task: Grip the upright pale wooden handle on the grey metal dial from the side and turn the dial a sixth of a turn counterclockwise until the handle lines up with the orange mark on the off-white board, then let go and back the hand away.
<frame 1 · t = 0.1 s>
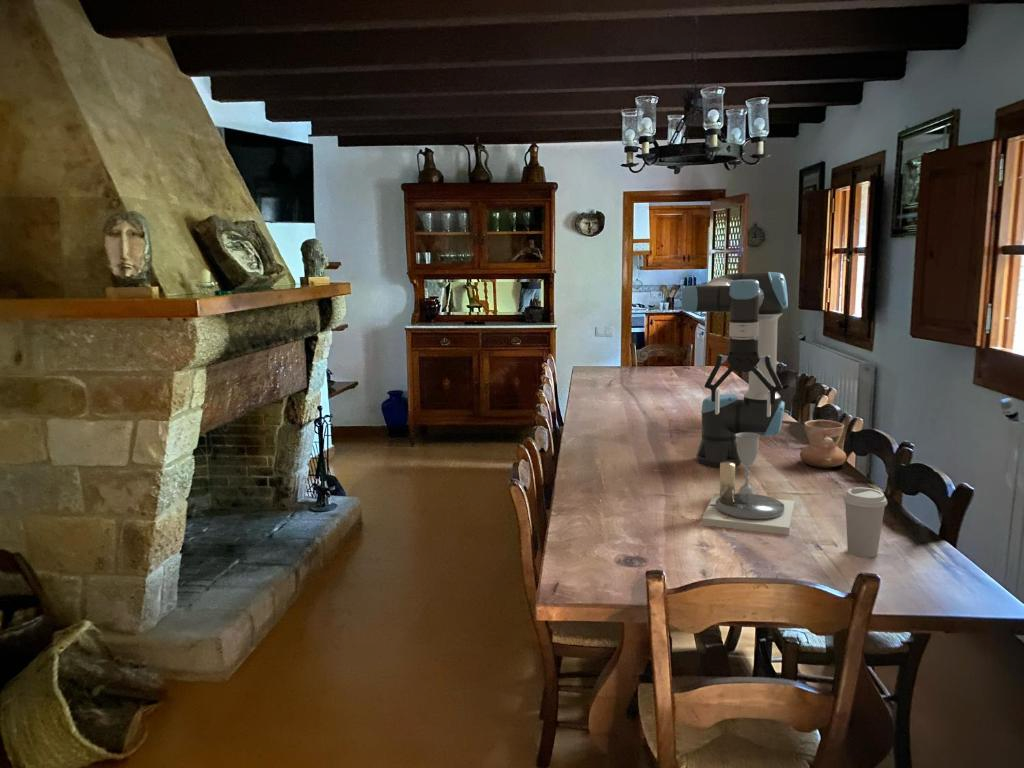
hand: (742, 414, 206), 28 cm above the table, tool pointing down, fingers open, 13 cm apart
chalice: (746, 493, 226), on the table
ceramic jug: (822, 464, 253), on the table
dial board: (749, 516, 207), on the table
coffee cup: (862, 553, 181), on the table
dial: (749, 486, 206), point 8 cm above the table, hinge at 0.0°
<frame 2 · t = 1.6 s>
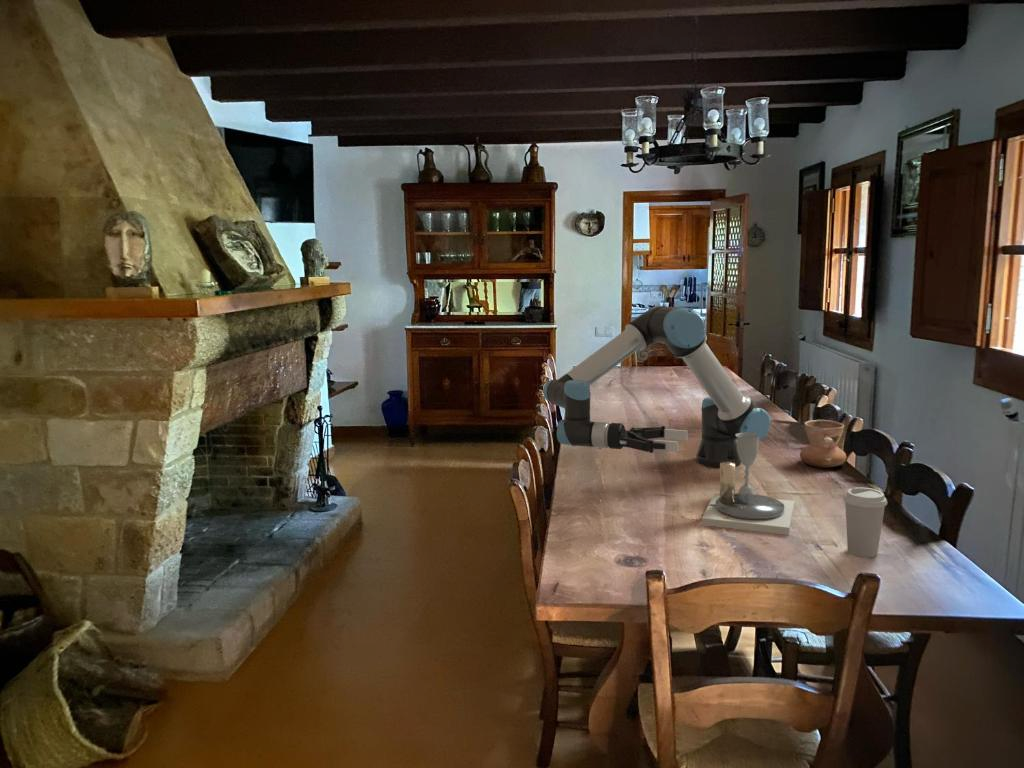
hand: (682, 440, 211), 20 cm above the table, tool horizontal, fingers open, 13 cm apart
nothing on the table moved.
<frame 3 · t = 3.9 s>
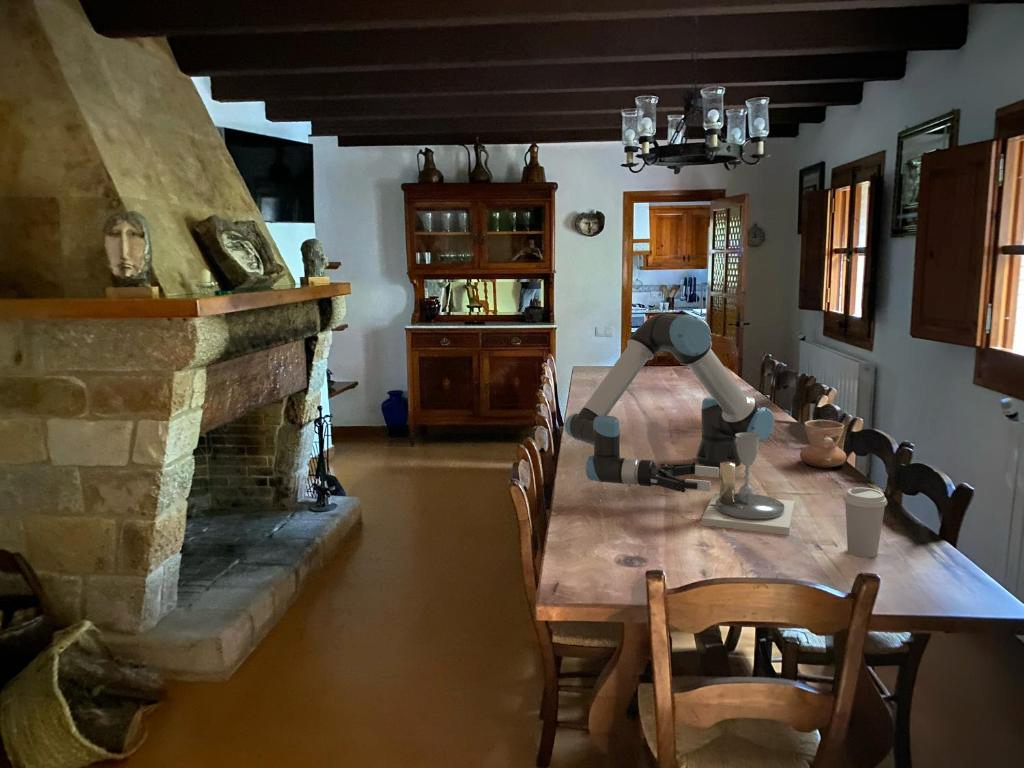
hand: (714, 479, 209), 10 cm above the table, tool horizontal, fingers open, 13 cm apart
nothing on the table moved.
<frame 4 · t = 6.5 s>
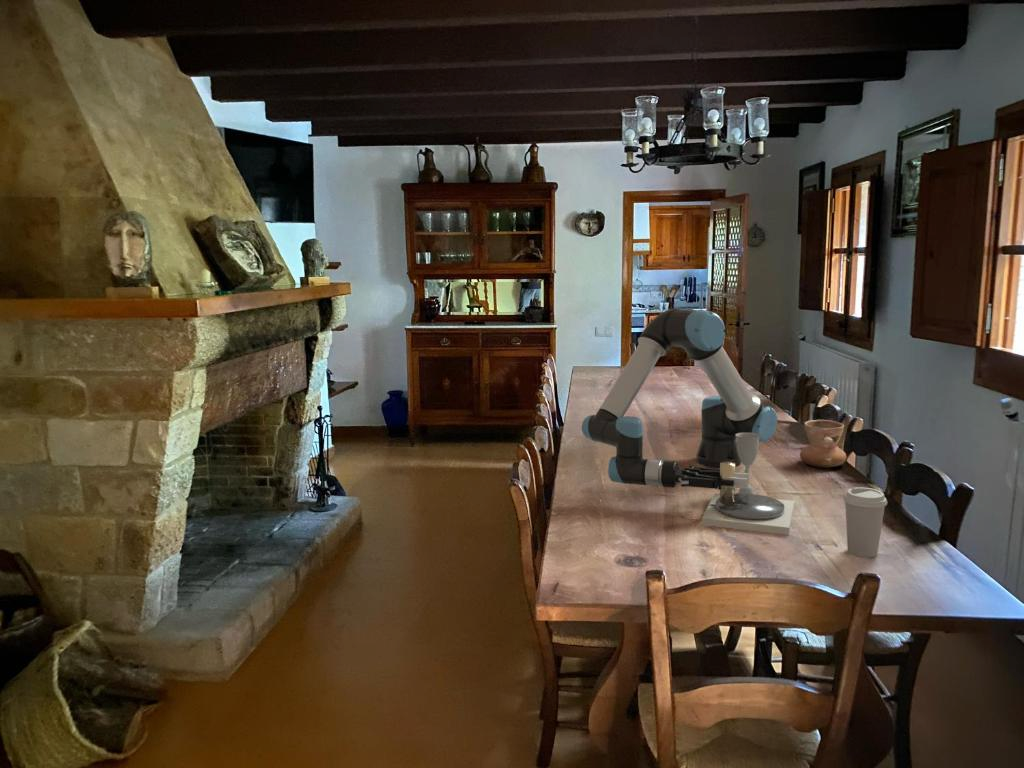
hand: (747, 481, 206), 10 cm above the table, tool horizontal, fingers closed on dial, 4 cm apart
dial: (749, 486, 206), point 8 cm above the table, hinge at 0.0°, touching gripper
everything else where it was.
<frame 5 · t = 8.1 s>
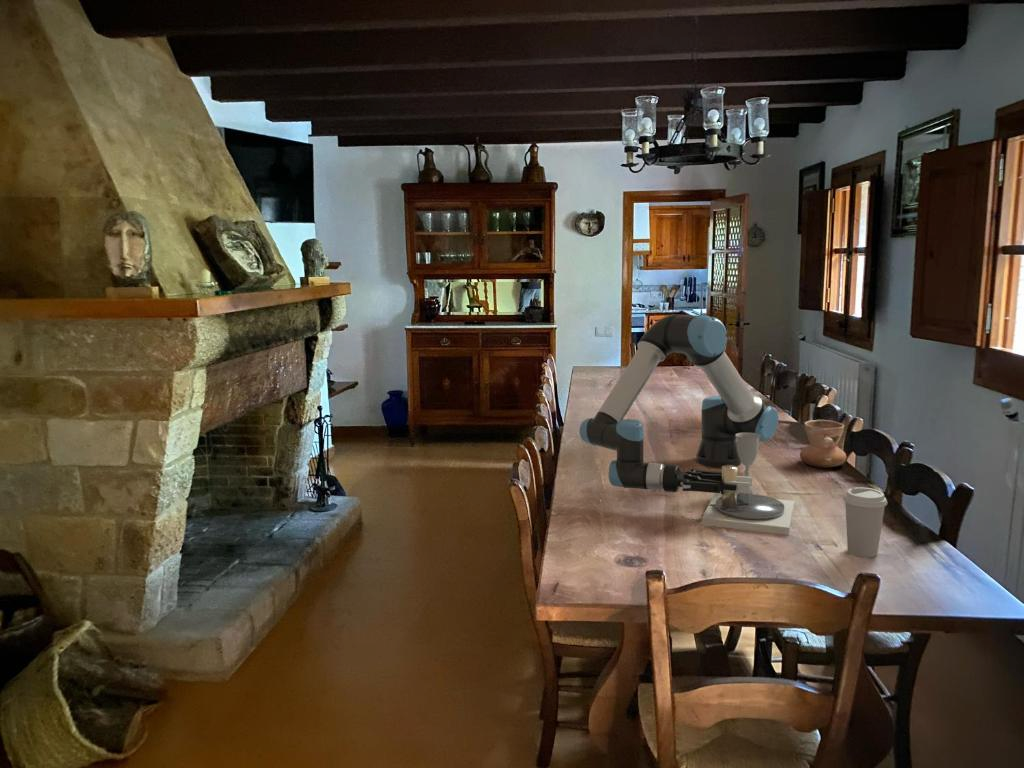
hand: (750, 485, 202), 10 cm above the table, tool horizontal, fingers open, 4 cm apart
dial: (749, 486, 206), point 8 cm above the table, hinge at 33.4°, touching gripper
everything else where it was.
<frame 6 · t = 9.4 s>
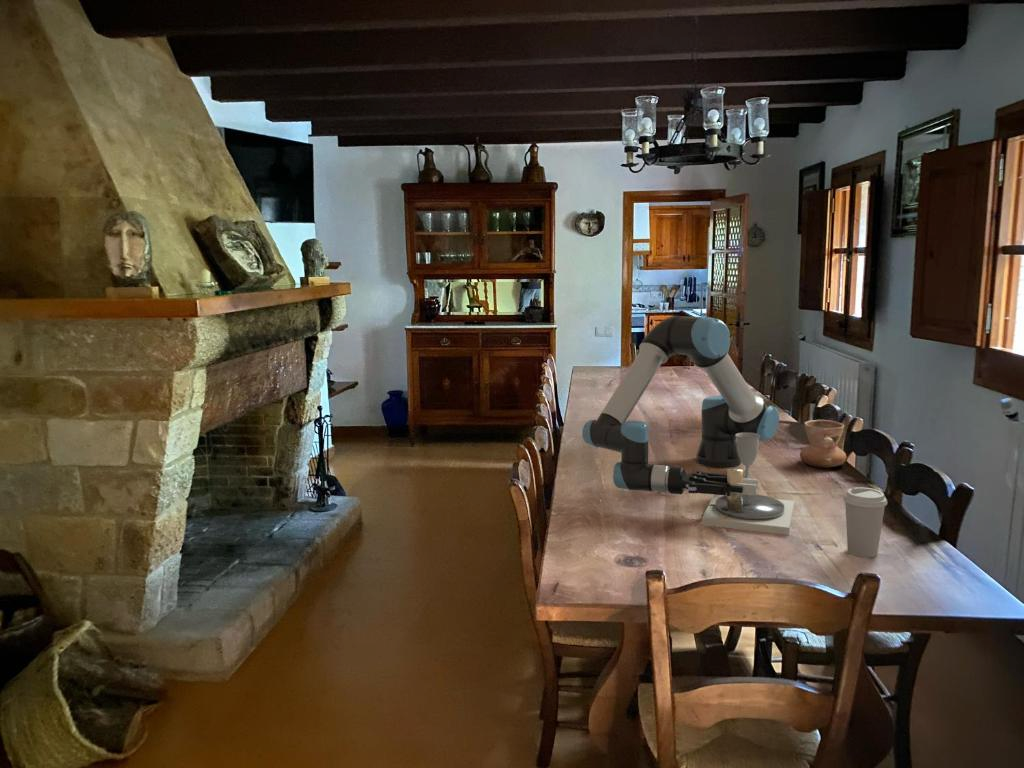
hand: (756, 487, 200), 10 cm above the table, tool horizontal, fingers closed on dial, 4 cm apart
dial: (749, 486, 206), point 8 cm above the table, hinge at 56.1°, touching gripper
everything else where it was.
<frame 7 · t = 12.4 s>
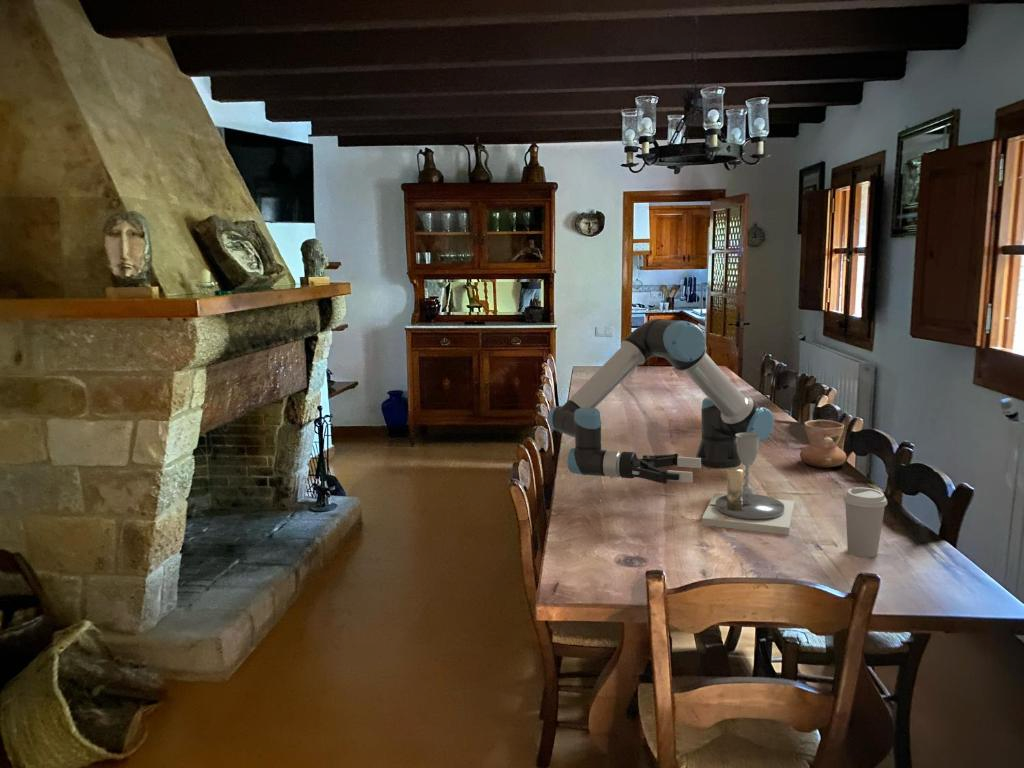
hand: (696, 470, 206), 13 cm above the table, tool horizontal, fingers open, 13 cm apart
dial: (749, 486, 206), point 8 cm above the table, hinge at 56.3°
everything else where it was.
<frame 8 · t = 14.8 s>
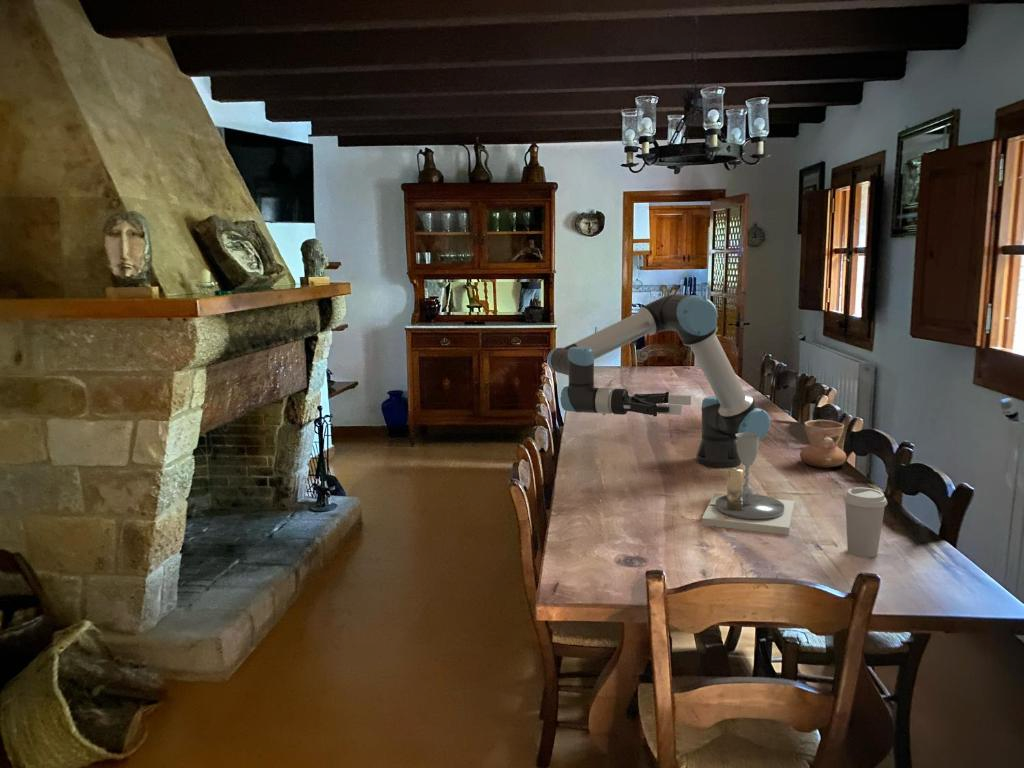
hand: (686, 404, 211), 30 cm above the table, tool horizontal, fingers open, 13 cm apart
nothing on the table moved.
at the end: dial at +56° (first picture: +0°); the gripper is holding nothing; chalice moved 0.2 cm from its start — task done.
